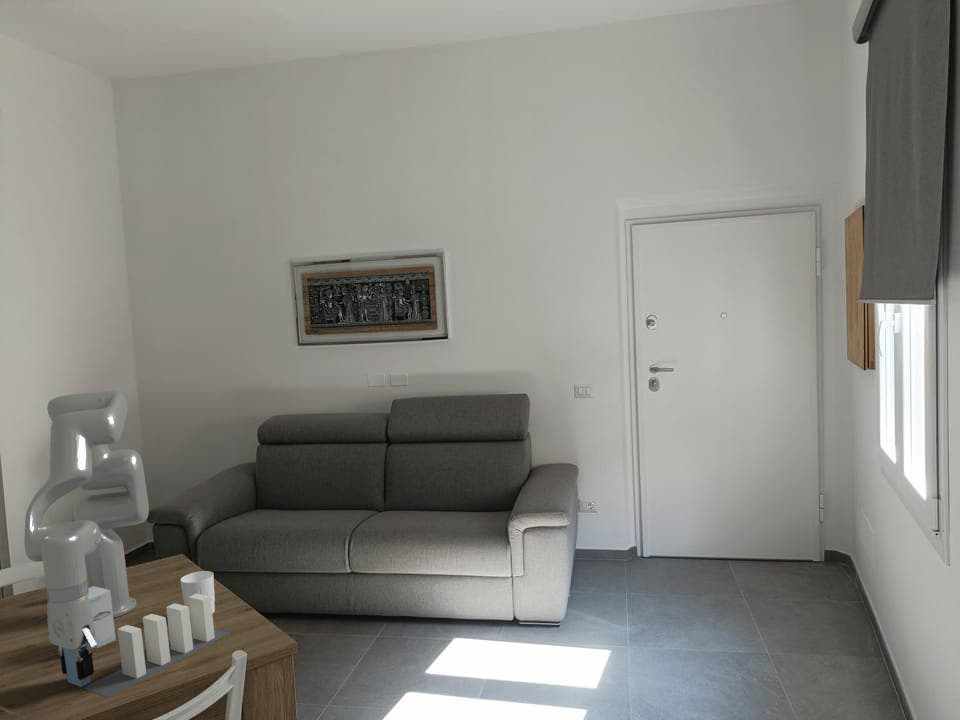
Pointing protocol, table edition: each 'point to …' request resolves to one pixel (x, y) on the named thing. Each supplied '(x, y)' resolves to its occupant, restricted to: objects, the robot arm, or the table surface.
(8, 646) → the table surface
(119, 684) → the runner mat
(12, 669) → the table surface
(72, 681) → the tile
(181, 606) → the tile
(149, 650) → the tile
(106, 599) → the supplement box
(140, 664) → the tile
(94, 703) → the table surface
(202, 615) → the tile
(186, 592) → the white cup
